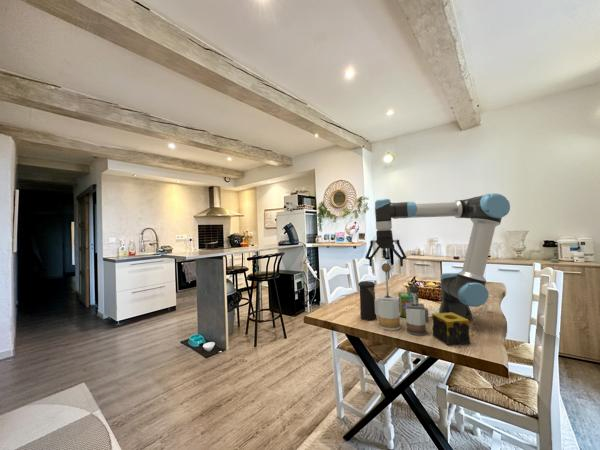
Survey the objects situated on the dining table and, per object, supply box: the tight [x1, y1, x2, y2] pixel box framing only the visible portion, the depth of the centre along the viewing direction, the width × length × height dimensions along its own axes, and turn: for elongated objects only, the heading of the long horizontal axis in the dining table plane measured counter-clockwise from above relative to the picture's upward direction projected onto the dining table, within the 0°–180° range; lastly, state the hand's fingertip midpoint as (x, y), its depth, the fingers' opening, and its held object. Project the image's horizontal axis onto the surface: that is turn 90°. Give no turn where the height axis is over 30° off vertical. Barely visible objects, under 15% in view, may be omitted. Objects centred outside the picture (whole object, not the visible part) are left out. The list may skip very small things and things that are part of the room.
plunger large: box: [381, 263, 392, 298], centre depth 124 cm, size 4×4×18 cm
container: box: [357, 280, 378, 321], centre depth 136 cm, size 9×9×20 cm
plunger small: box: [408, 283, 420, 306], centre depth 115 cm, size 4×4×16 cm
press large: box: [374, 294, 402, 331], centre depth 123 cm, size 12×10×14 cm
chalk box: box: [397, 287, 420, 318], centre depth 137 cm, size 9×9×15 cm
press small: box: [405, 303, 430, 337], centre depth 115 cm, size 10×8×12 cm
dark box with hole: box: [431, 312, 471, 346], centre depth 106 cm, size 10×10×10 cm
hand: (386, 272), depth 124 cm, fingers open, 12 cm apart
